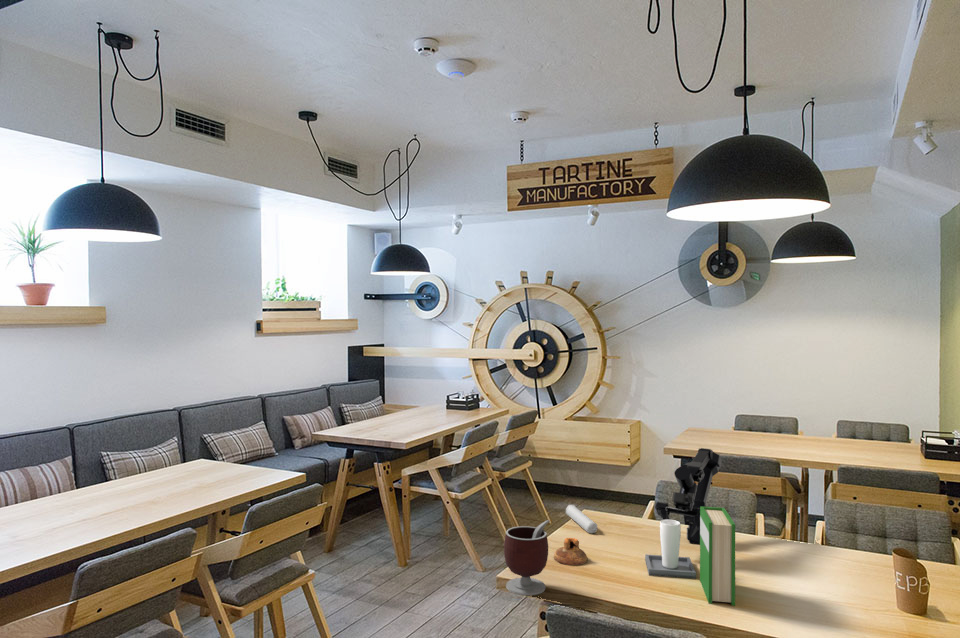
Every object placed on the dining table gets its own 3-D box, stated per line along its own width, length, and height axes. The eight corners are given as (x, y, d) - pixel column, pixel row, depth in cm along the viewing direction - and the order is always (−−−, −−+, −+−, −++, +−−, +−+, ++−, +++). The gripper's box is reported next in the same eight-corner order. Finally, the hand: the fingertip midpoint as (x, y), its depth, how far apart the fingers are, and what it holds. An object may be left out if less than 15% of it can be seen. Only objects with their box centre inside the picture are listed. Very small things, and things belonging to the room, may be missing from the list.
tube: (601, 524, 251) (578, 506, 275) (589, 520, 250) (567, 503, 274) (597, 537, 250) (574, 518, 275) (585, 534, 249) (563, 514, 274)
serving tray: (689, 563, 220) (689, 557, 220) (696, 578, 206) (696, 572, 206) (645, 560, 223) (645, 554, 223) (648, 575, 209) (648, 569, 209)
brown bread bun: (585, 554, 228) (585, 534, 228) (588, 567, 216) (588, 545, 216) (553, 553, 229) (553, 533, 229) (554, 565, 217) (554, 544, 217)
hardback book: (735, 606, 186) (735, 524, 187) (708, 603, 188) (709, 522, 188) (723, 582, 204) (724, 507, 204) (699, 580, 205) (700, 506, 205)
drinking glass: (675, 562, 218) (675, 518, 219) (684, 569, 212) (684, 524, 212) (656, 563, 218) (656, 519, 218) (664, 570, 211) (664, 525, 211)
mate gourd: (518, 600, 189) (518, 533, 189) (495, 583, 201) (496, 520, 202) (560, 590, 196) (561, 525, 196) (536, 574, 208) (537, 514, 209)
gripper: (656, 479, 232) (646, 516, 223) (709, 487, 222) (700, 526, 212) (663, 496, 238) (653, 533, 229) (714, 504, 228) (706, 543, 219)
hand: (677, 533), depth 222 cm, fingers open, 9 cm apart
